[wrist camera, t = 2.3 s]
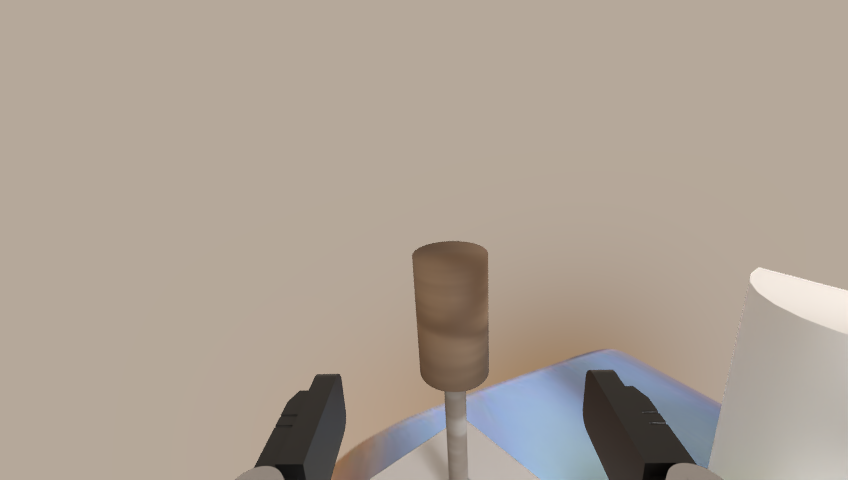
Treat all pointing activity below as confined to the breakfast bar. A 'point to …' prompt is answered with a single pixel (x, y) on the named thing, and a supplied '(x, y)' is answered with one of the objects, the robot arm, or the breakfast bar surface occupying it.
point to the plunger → (453, 332)
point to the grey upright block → (428, 463)
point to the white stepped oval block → (786, 384)
